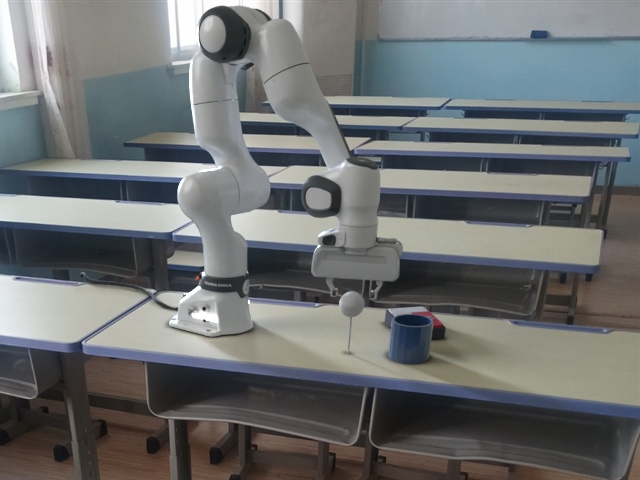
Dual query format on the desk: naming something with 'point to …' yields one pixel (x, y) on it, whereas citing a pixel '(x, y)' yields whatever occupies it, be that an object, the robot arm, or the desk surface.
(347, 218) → the robot arm
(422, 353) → the cup
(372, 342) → the desk surface
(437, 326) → the calculator
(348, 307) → the lollipop
